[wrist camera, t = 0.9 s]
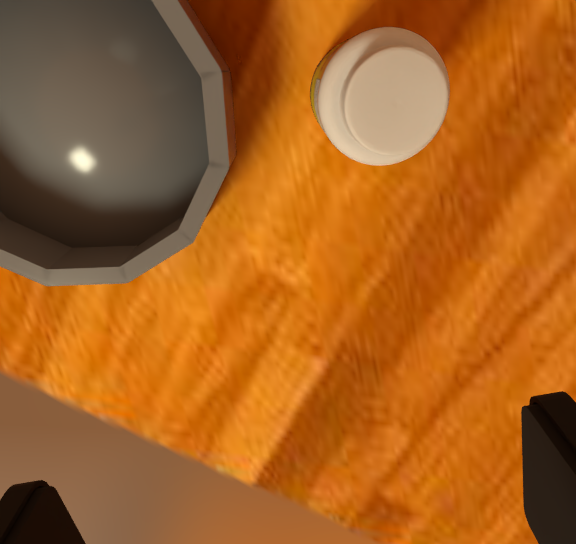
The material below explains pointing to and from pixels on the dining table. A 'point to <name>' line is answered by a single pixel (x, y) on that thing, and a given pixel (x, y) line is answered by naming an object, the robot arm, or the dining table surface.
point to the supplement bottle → (381, 95)
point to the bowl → (107, 136)
